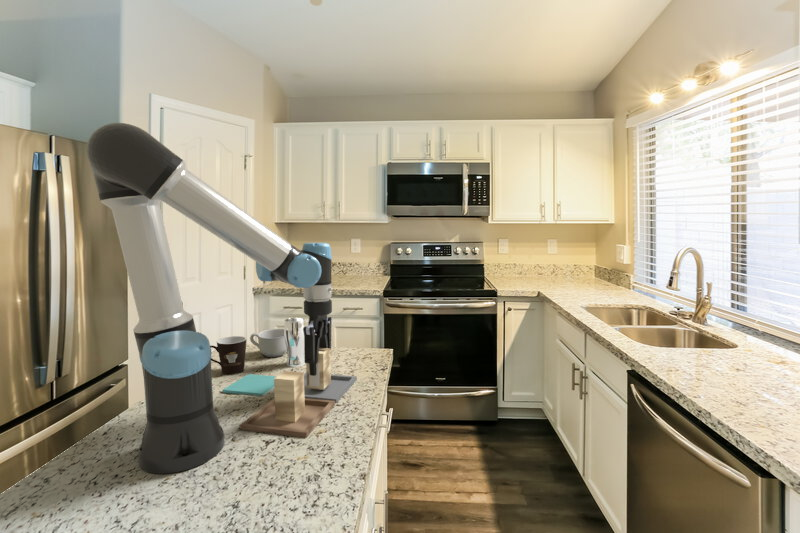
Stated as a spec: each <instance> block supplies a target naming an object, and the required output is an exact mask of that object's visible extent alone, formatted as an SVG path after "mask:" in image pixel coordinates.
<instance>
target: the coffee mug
mask: <svg viewBox="0 0 800 533" xmlns="http://www.w3.org/2000/svg"><path fill="white" fill-rule="evenodd" d="M210 347H211V349H215V351H216V352H217V353H218V357H219V361H218V360H216V359H213V358H212V357H211V362H214V363H217V364H218V365H219V366H220V368H221V373H222V374H223V375H225V374H226V375H227V376H231V375H237V374H241V373H242V372H244V371H245V363H246V362H245V361H246V351H247V337H245V336H239V335H238V336H237V335H236V336H235V335H234V336H227V337H223V338H219V339H217V340H216V346H215V345H210Z"/></svg>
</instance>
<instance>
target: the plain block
mask: <svg viewBox="0 0 800 533" xmlns="http://www.w3.org/2000/svg"><path fill="white" fill-rule="evenodd" d="M304 374H305V373H304V372H302V371H289V370H284V371H282V372H281V373H280V374H279V375H277V377H276V378H274V388H273V390H274V398H275V420H279V421H287V422H296V421H297V420H298V419H299V418H300V417H301V416H302V415H303V414H304V413H305V395H304Z"/></svg>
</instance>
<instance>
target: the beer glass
mask: <svg viewBox="0 0 800 533" xmlns="http://www.w3.org/2000/svg"><path fill="white" fill-rule="evenodd" d="M283 321H284V322H283V323H284V325H283V326H284V327H283V329H284V338H285V343H286V348H287V351H286V352H287V357H286V358H287V360H286V366H287V367H289V368H297V367H302V366H305V365H306V363H305V354H304V332H303V328H304V327H307V325H306V324H307V323H306V318H305V317H296V316H295V317H287V318H286V319H284V320H283Z"/></svg>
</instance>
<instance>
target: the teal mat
mask: <svg viewBox="0 0 800 533" xmlns="http://www.w3.org/2000/svg"><path fill="white" fill-rule="evenodd" d="M277 376H278V375H277ZM277 376H274V375H266V374H265V375H264V374H253V373H252V374H251V373H248V374H246V375H245V376H243V377H241V378H239V379H238V380H237V381H234V382H233V383H232V384H230V385H228V386H226V387H224V388H223V389H222V393H223V394H233V395H239V394H240V395H250V396H259V397H263V396H264V395H266V394H267V393H268V392H270V391H271V390H272V389H274V378H276V377H277Z"/></svg>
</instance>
